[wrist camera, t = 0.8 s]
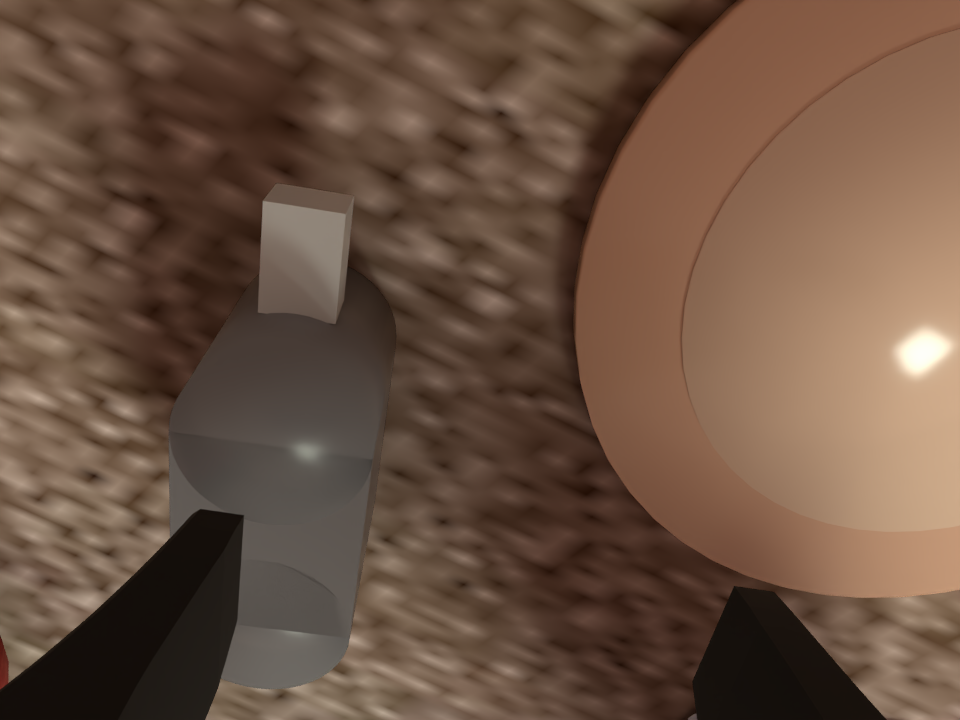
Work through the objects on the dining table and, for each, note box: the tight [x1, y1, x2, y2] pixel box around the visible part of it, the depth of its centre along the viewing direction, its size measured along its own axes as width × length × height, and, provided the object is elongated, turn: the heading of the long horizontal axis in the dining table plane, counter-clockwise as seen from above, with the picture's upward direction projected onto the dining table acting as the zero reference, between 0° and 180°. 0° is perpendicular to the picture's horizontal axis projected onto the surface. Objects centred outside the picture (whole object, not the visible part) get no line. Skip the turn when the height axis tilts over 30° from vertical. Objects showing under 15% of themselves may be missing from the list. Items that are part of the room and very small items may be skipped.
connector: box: [169, 183, 396, 689], centre depth 19 cm, size 11×4×5 cm, turn 170°
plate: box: [573, 0, 960, 598], centre depth 20 cm, size 18×18×1 cm
